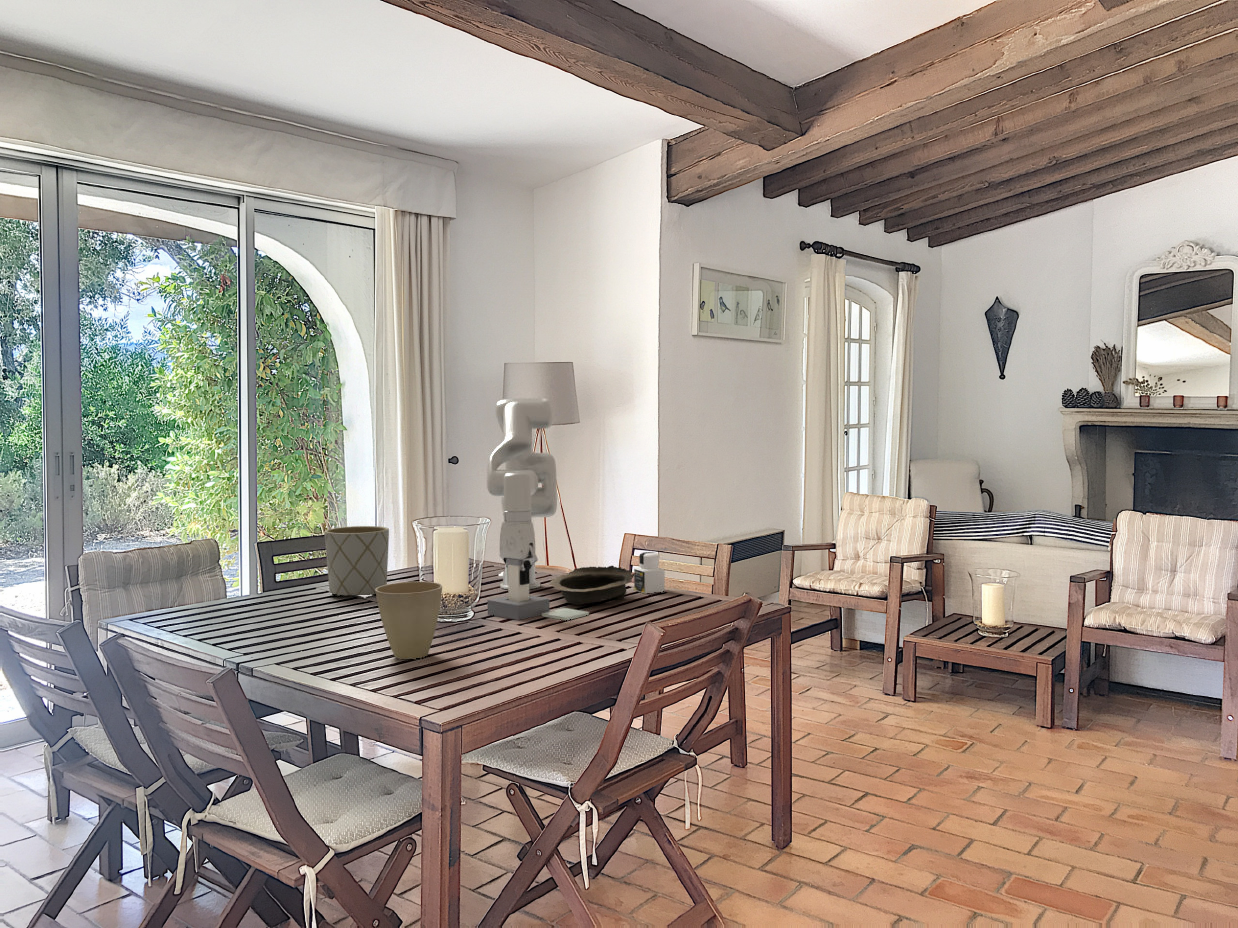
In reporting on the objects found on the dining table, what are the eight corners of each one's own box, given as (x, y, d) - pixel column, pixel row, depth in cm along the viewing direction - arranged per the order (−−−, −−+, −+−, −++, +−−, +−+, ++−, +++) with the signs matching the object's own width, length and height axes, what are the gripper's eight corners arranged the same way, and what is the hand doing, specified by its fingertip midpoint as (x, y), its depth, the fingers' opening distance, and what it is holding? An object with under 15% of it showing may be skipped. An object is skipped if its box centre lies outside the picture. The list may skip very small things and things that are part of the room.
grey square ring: (487, 614, 266) (487, 599, 266) (519, 607, 275) (518, 593, 275) (518, 620, 258) (518, 605, 258) (549, 612, 267) (549, 598, 267)
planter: (313, 598, 291) (311, 532, 290) (348, 587, 309) (347, 525, 308) (369, 601, 285) (367, 534, 284) (401, 589, 304) (400, 526, 303)
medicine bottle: (633, 590, 300) (633, 551, 299) (654, 588, 303) (654, 550, 302) (644, 594, 294) (643, 554, 293) (665, 592, 296) (664, 553, 296)
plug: (506, 600, 266) (506, 558, 266) (519, 597, 270) (518, 556, 269) (518, 602, 263) (518, 560, 263) (530, 599, 267) (530, 557, 266)
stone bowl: (637, 593, 294) (637, 563, 293) (630, 616, 270) (630, 584, 268) (557, 591, 297) (557, 561, 295) (543, 614, 272) (542, 582, 271)
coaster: (542, 616, 263) (542, 613, 263) (564, 610, 270) (564, 607, 270) (566, 620, 257) (566, 617, 257) (588, 614, 264) (588, 611, 264)
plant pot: (415, 645, 231) (414, 578, 230) (457, 654, 222) (455, 585, 221) (363, 657, 220) (361, 588, 219) (404, 668, 210) (403, 595, 209)
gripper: (486, 516, 268) (487, 581, 269) (529, 520, 257) (530, 588, 258) (506, 513, 273) (507, 577, 274) (549, 518, 263) (550, 584, 264)
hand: (518, 582), depth 266 cm, fingers closed on plug, 4 cm apart
